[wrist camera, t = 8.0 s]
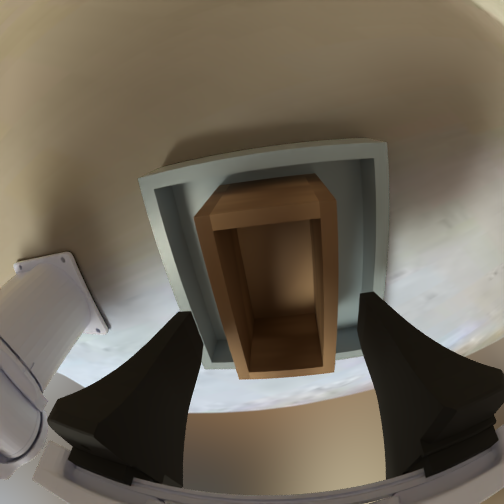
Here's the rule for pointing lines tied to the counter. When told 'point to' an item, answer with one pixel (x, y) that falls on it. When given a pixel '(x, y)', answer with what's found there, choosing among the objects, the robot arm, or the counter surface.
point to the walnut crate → (274, 273)
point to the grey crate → (263, 167)
